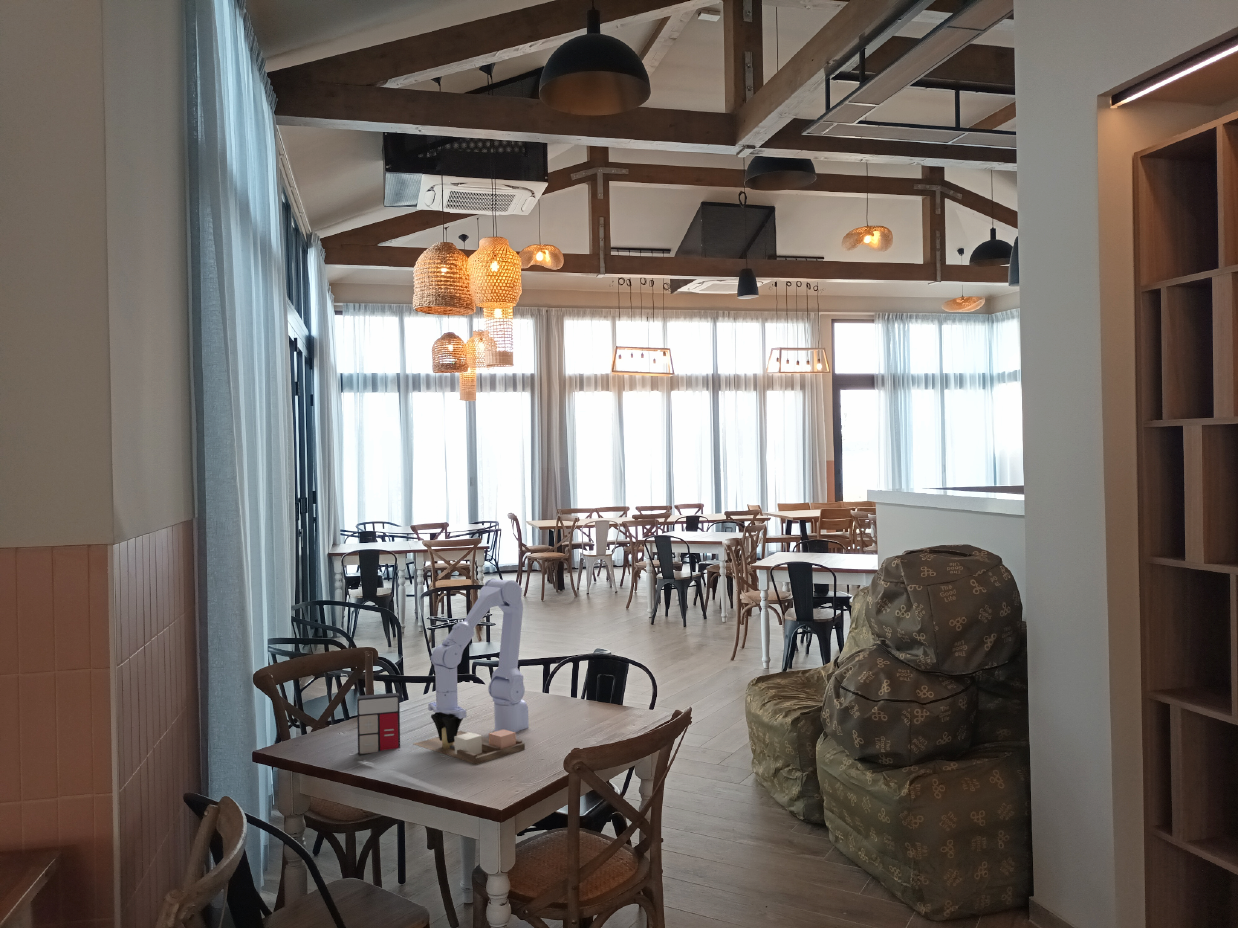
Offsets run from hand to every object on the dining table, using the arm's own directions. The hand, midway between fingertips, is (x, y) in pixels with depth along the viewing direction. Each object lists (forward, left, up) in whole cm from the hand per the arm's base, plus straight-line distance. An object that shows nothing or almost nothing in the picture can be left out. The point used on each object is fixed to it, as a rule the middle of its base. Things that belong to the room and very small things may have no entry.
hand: (447, 740), depth 235 cm
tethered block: (0, +5, -2) cm, 5 cm away
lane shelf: (-4, +4, -3) cm, 6 cm away
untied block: (-7, +14, -2) cm, 16 cm away
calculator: (+12, -14, -3) cm, 19 cm away
